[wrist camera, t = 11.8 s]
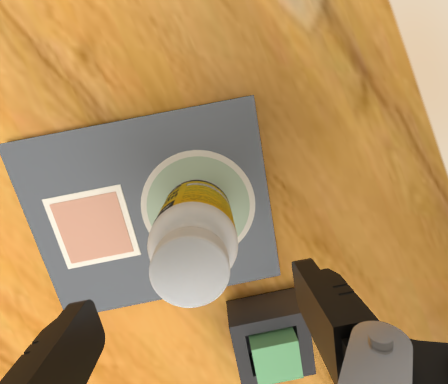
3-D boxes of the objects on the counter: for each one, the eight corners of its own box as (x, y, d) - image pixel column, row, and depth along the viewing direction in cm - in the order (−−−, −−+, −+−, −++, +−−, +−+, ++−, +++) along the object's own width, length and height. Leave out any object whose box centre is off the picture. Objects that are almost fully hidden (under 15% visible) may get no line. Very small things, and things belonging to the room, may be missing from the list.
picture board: (251, 96, 22) (254, 94, 20) (277, 268, 26) (281, 276, 25) (7, 143, 22) (-6, 144, 20) (73, 309, 26) (65, 319, 24)
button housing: (295, 287, 27) (308, 311, 23) (302, 343, 28) (316, 373, 25) (226, 301, 26) (229, 327, 23) (238, 357, 28) (242, 389, 25)
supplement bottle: (174, 169, 21) (149, 207, 12) (237, 188, 22) (262, 238, 13) (157, 229, 23) (123, 307, 13) (218, 245, 23) (227, 330, 14)
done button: (289, 320, 25) (298, 340, 22) (294, 354, 26) (303, 377, 23) (247, 328, 25) (251, 350, 22) (253, 362, 26) (258, 386, 23)
